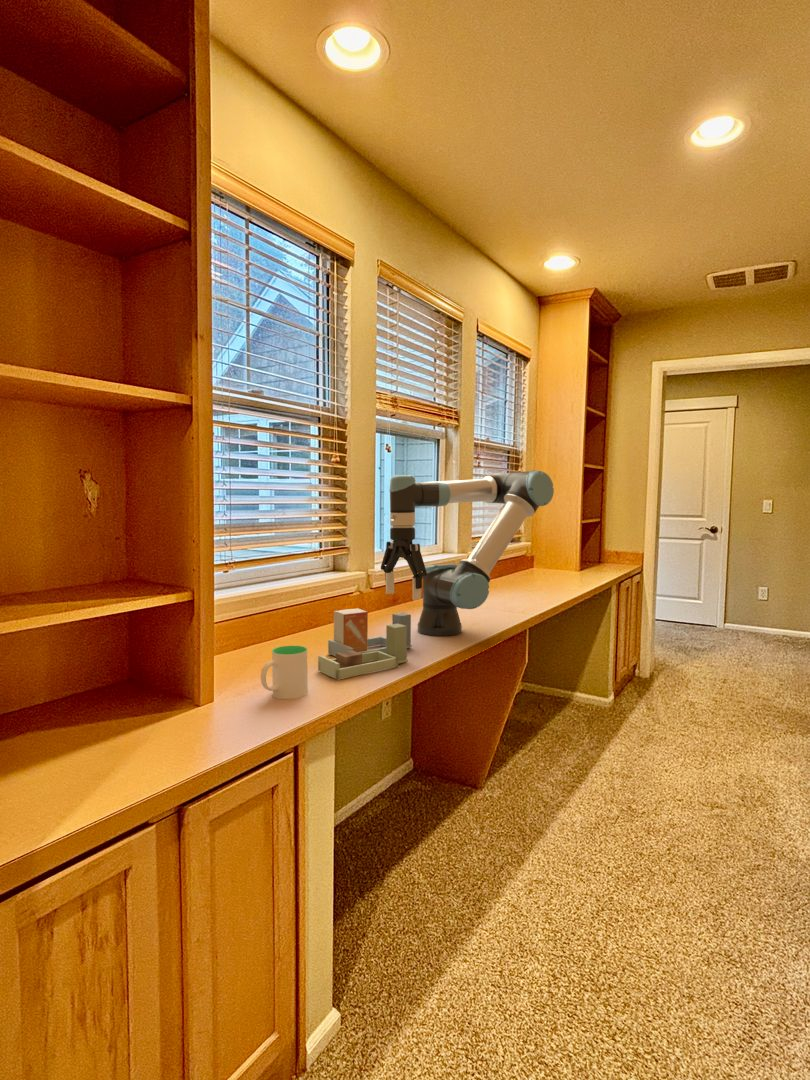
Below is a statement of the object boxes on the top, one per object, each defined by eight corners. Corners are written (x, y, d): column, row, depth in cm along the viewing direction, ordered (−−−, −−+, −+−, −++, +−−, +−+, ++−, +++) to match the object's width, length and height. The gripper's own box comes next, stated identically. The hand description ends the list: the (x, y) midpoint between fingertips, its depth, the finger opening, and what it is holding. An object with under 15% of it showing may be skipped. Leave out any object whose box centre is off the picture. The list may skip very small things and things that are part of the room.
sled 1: (394, 641, 189) (394, 610, 188) (419, 649, 179) (419, 616, 178) (328, 653, 175) (328, 619, 174) (351, 663, 164) (351, 627, 164)
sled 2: (392, 656, 172) (392, 621, 171) (412, 663, 164) (413, 627, 163) (318, 670, 157) (318, 633, 157) (336, 679, 150) (336, 640, 149)
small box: (343, 659, 169) (343, 614, 168) (333, 654, 174) (333, 610, 174) (368, 655, 174) (368, 611, 173) (357, 650, 179) (357, 607, 178)
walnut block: (352, 668, 161) (351, 650, 161) (362, 672, 157) (362, 654, 157) (335, 671, 158) (335, 653, 158) (345, 676, 154) (345, 657, 154)
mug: (276, 706, 131) (275, 660, 131) (252, 699, 136) (251, 654, 135) (314, 692, 141) (314, 648, 140) (290, 685, 146) (290, 643, 145)
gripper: (369, 525, 188) (370, 592, 190) (418, 529, 168) (418, 603, 170) (388, 524, 192) (389, 589, 194) (438, 528, 172) (438, 600, 174)
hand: (403, 596), depth 182 cm, fingers open, 13 cm apart
